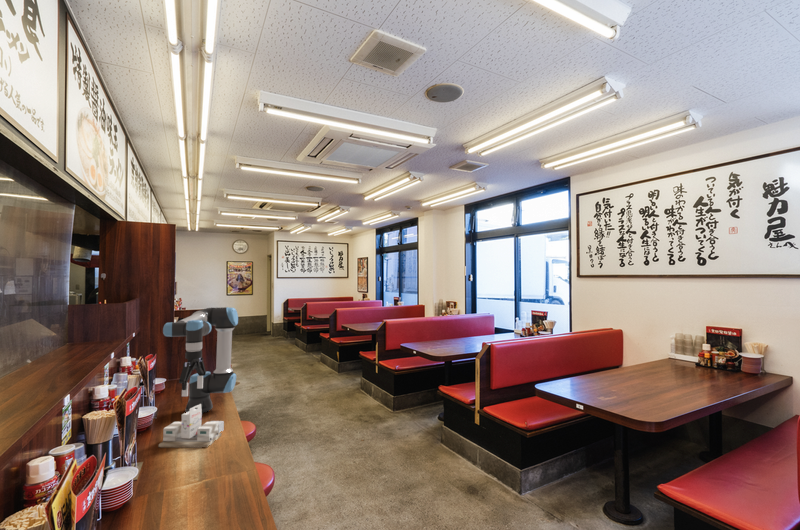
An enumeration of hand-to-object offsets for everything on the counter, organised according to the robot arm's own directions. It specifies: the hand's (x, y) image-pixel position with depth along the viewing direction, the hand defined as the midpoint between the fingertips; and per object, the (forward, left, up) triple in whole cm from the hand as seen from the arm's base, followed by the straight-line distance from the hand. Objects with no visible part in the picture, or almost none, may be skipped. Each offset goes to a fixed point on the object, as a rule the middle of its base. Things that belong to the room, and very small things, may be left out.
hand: (192, 392), depth 187 cm
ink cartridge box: (0, 0, -22) cm, 22 cm away
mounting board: (0, 0, -25) cm, 25 cm away
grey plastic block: (-12, +6, -25) cm, 28 cm away
